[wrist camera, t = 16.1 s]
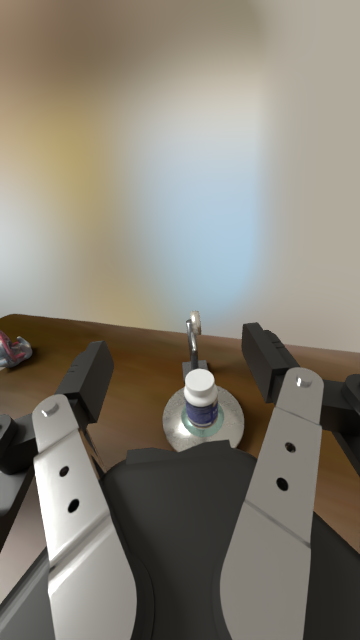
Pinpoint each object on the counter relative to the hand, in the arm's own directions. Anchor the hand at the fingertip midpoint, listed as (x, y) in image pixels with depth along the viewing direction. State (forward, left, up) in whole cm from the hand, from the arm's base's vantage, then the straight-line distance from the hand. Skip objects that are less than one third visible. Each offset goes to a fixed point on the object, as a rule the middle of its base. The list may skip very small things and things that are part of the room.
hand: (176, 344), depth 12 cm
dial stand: (+2, +23, -30) cm, 38 cm away
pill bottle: (+2, +13, -28) cm, 31 cm away
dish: (+2, +13, -30) cm, 33 cm away
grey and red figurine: (-52, +40, -30) cm, 72 cm away
